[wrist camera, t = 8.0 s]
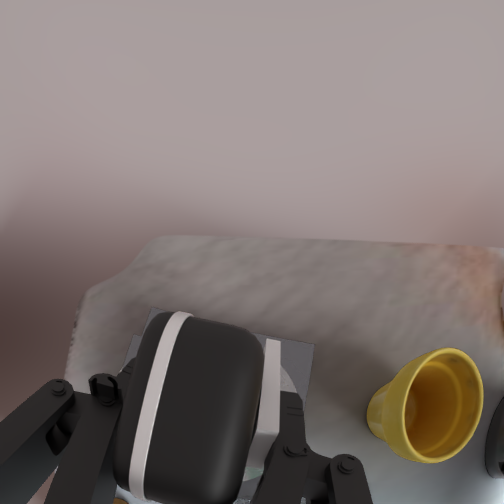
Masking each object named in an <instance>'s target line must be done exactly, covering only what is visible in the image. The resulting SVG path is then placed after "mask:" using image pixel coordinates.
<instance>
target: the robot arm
mask: <svg viewBox="0 0 504 504" xmlns="http://www.w3.org/2000/svg"><path fill="white" fill-rule="evenodd" d="M280 351H281V341H277V340H272V339H266V343H265V347H264V351H263V352H264V356H265V358H264V372H263V379H262V385H261V390H260V396H259V401H258V407H257V411H256V417H255V423H254V428H253V433H252V438H251V443H250V447H249V453H248V458H247V463H246V467H250V468H257V469H262V467H263V465H264V470H263V474H262V476H261V478H260V480H259V481H258V483H257V488H256V490H255V493H254V495H253V498H252V500H251V502H250V504H300V502H301V498H302V497H304V498H306V504H373V502H372V498H371V494H370V490H369V487H368V483H367V479H366V476H365V472H364V469H363V465H362V464H361V462H360V460H358V459H357V458H356V457H354V456H352V455H349V454H340V455H337V456H335V457H334V458H333V459H331V458H328V457H325V456H321V455H319V454H316V453H315V452H313V451H312V450H311V449H310V447H309V445H308V444H307V443H306V439H305V425H304V411H303V401H302V399H301V397H300V396H299V394H298V393H294V392H287V391H281V390H280ZM135 359H136V357H135V358H132V359H131V360H130V361H129V362H128V364H127V365H126V366H125V367H124V368H123V369H122V371H121V372H120V373H119V374H118V375H117V377H115V376H112V375H110V374H104V373H102V374H96V375H94V376H92V377H91V378H90V379H89V386H90V391H91V394H86V393H81V392H76V391H74V390H73V387H72V385H71V384H70V383H69V382H68V381H65V380H63V379H54V380H51V381H49V382H47V383H46V384H45V385H44V386H42V387H41V388H40V389H39V390H38V391H36V392H35V393H34V394H33V395H32V396H30V397H29V398H28V399H27V400H26V401H25V402H23V403H22V404H21V405H20V406H19V407H17V408H16V409H15V410H14V411H13V412H12V413H10V414H9V415H8V416H7V417H6V418H5V419H4V420H3V421H1V422H0V504H27V503H28V501H29V500H30V499H31V498H32V496H33V495H34V494H35V493H36V492H37V490H38V489H39V488H40V487H41V485H42V484H43V483H44V482H45V481H46V479H47V478H48V477H49V476H50V474H51V473H52V472H53V471H54V470H55V469H56V467H57V466H58V465H59V466H58V468H57V471H56V473H55V476H54V478H53V481H52V483H51V486H50V489H49V491H48V494H47V497H46V499H45V502H44V504H113V501H114V497H115V492H116V488H117V483H116V481H115V479H114V476H113V468H112V462H113V453H114V447H115V441H116V436H117V431H118V426H119V421H120V416H121V412H122V407H123V403H124V399H125V395H126V391H127V387H128V384H129V380H130V376H131V373H132V369H133V366H134V362H135ZM485 460H486V467H487V470H488V473H489V474H490V475H491V476H492V477H493V478H504V398H503V399H502V401H501V402H500V404H499V405H498V407H497V409H496V412H495V414H494V416H493V419H492V422H491V425H490V429H489V432H488V437H487V443H486V452H485Z"/></svg>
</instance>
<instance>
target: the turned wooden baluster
mask: <svg viewBox="0 0 504 504" xmlns="http://www.w3.org/2000/svg"><path fill="white" fill-rule="evenodd" d="M113 504H128V503H127V502H125V501H124V500H122V499H119V498H114V501H113Z"/></svg>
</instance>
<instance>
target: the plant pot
mask: <svg viewBox="0 0 504 504" xmlns="http://www.w3.org/2000/svg"><path fill="white" fill-rule="evenodd" d="M482 408H483V384H482V379H481V376H480V373H479V370H478V368H477V366H476V365H475V363H474V362H473V360H472V359H471V358H470V357H469V356H468V355H467V354H466V353H464V352H463V351H461V350H458V349H455V348H440V349H437V350H434V351H431V352H429V353H426V354H424V355H422V356H420V357H418V358H416V359H414V360H412V361H411V362H409V363H408V364H406V365H405V366H404V367H403V368H402V369H401V370H400V371H399V372H398V373H397V375H396V376H395V378H394V379H393V380H392V381H391V382H389V383H388V384H386V385H384V386H383V387H381V388H380V389H379V390H378V391H377V392H376V393H375V394H374V395H373V397H372V399H371V400H370V402H369V405H368V409H367V422H368V426H369V428H370V430H371V431H372V433H373V434H374V435H375V436H377V437H378V438H380V439H382V440H384V441H385V442H387V444H388V445H389V447H390V448H391V449H392V450H393V451H394V452H395V453H396V454H397V455H399V456H400V457H402V458H405V459H408V460H412V461H416V462H422V463H438V462H442V461H445V460H447V459H449V458H451V457H453V456H454V455H455V454H457V453H458V452H459V451H460V450H461V449H462V448H463V447H464V446H465V445H466V444H467V443H468V441H469V440H470V439H471V437H472V436H473V434H474V432H475V430H476V428H477V425H478V423H479V420H480V417H481V413H482Z"/></svg>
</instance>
